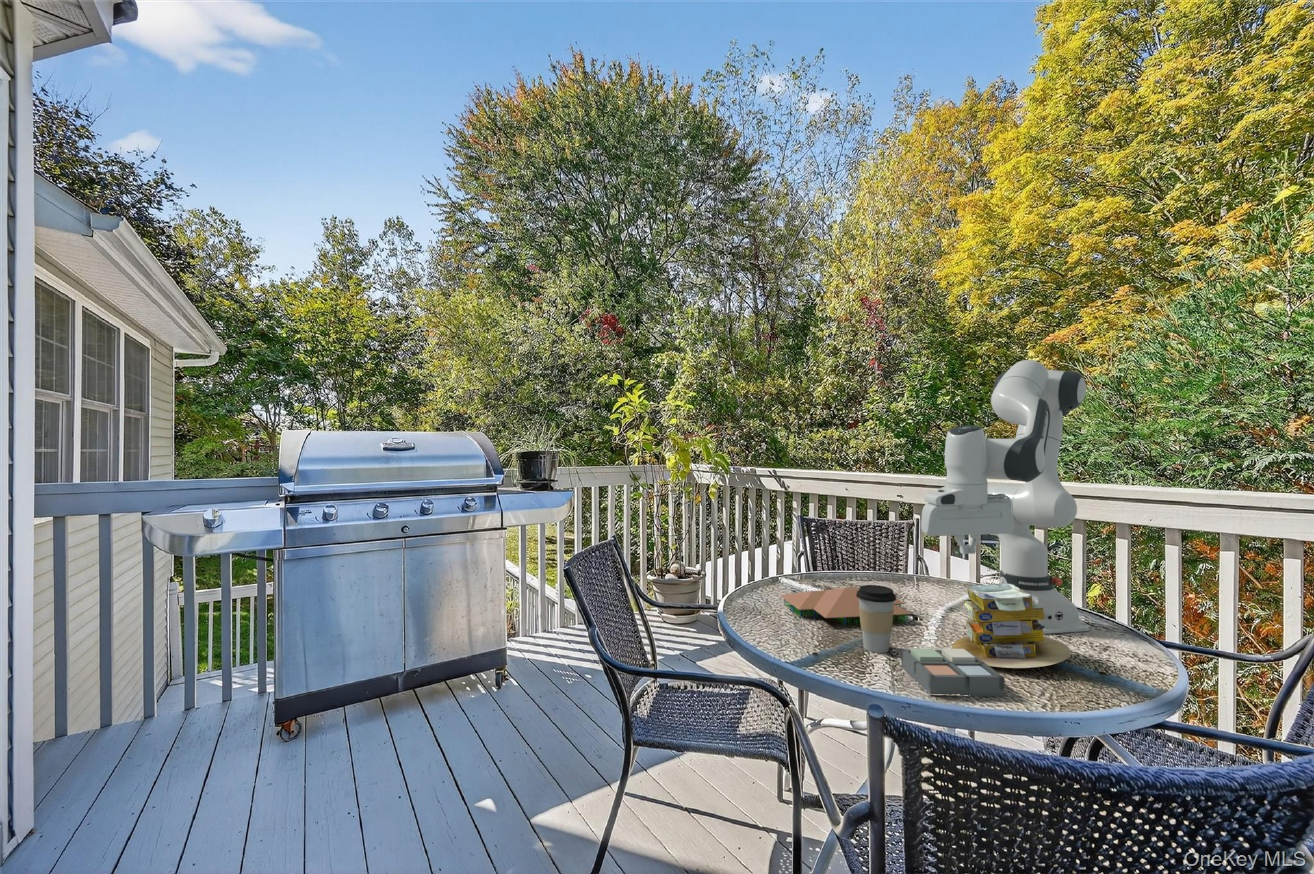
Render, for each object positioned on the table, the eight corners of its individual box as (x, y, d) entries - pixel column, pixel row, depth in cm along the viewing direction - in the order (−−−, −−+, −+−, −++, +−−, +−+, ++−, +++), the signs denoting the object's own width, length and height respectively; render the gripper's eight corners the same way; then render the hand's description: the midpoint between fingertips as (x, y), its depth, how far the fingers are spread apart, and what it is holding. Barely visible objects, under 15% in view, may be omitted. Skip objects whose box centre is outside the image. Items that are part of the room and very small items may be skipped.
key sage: (932, 657, 133) (932, 648, 133) (942, 666, 128) (942, 657, 128) (910, 657, 133) (910, 648, 133) (919, 665, 128) (919, 656, 128)
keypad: (967, 667, 134) (967, 649, 134) (1004, 696, 119) (1004, 677, 119) (901, 666, 135) (901, 649, 135) (930, 696, 120) (930, 676, 120)
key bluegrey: (979, 675, 126) (980, 665, 126) (992, 685, 121) (992, 675, 121) (956, 674, 126) (956, 665, 126) (968, 685, 121) (968, 675, 121)
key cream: (963, 657, 133) (963, 648, 133) (975, 666, 128) (975, 657, 128) (941, 657, 133) (941, 648, 133) (952, 666, 128) (952, 657, 128)
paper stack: (948, 664, 137) (948, 593, 136) (953, 632, 158) (954, 570, 158) (1077, 687, 124) (1077, 609, 124) (1064, 649, 146) (1064, 582, 146)
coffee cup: (895, 644, 149) (895, 585, 149) (897, 658, 140) (897, 595, 140) (855, 640, 152) (856, 582, 152) (855, 653, 143) (856, 592, 143)
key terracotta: (947, 674, 126) (947, 665, 126) (958, 684, 121) (958, 675, 121) (923, 674, 126) (923, 665, 126) (934, 684, 121) (934, 675, 121)
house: (920, 624, 165) (920, 596, 165) (810, 630, 161) (810, 600, 161) (878, 601, 188) (878, 576, 188) (780, 605, 183) (780, 579, 183)
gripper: (1003, 491, 140) (1004, 548, 141) (917, 494, 141) (919, 551, 141) (1019, 495, 134) (1020, 554, 134) (929, 498, 134) (930, 558, 135)
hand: (967, 553), depth 138 cm, fingers closed
